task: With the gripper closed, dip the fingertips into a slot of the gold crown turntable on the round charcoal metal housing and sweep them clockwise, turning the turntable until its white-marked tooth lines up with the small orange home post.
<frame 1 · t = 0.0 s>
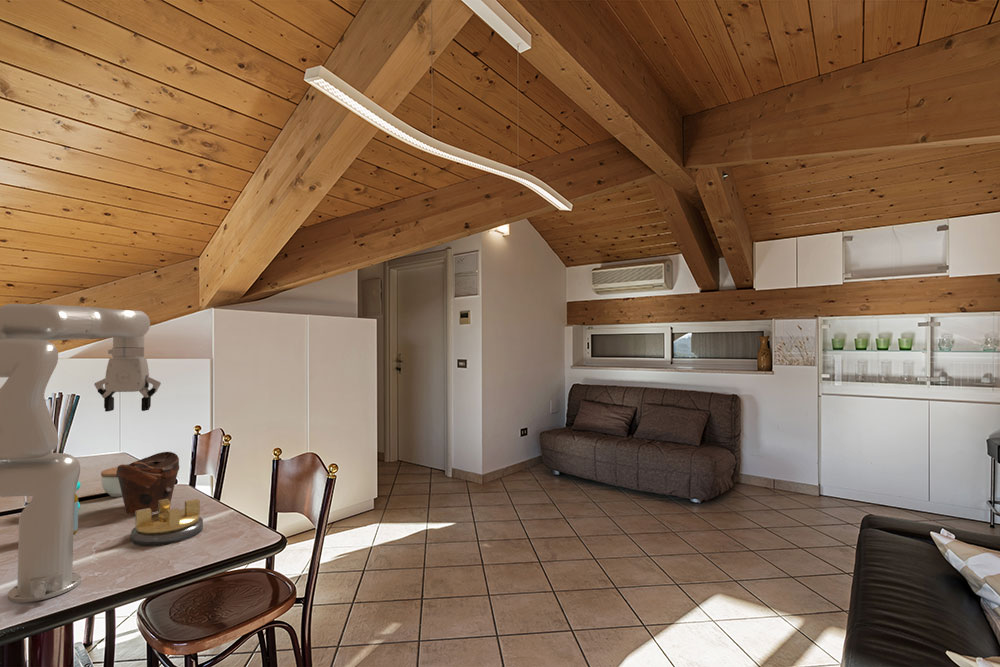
hand: (127, 410, 149), 37 cm above the table, tool pointing down, fingers open, 9 cm apart
housing: (168, 533, 150), on the table
gold crown turntable: (168, 514, 150), point 6 cm above the table, hinge at 0.0°
donuts: (60, 513, 168), on the table
lidded bowl: (121, 494, 189), on the table
case: (147, 508, 173), on the table
bottle: (62, 536, 148), on the table
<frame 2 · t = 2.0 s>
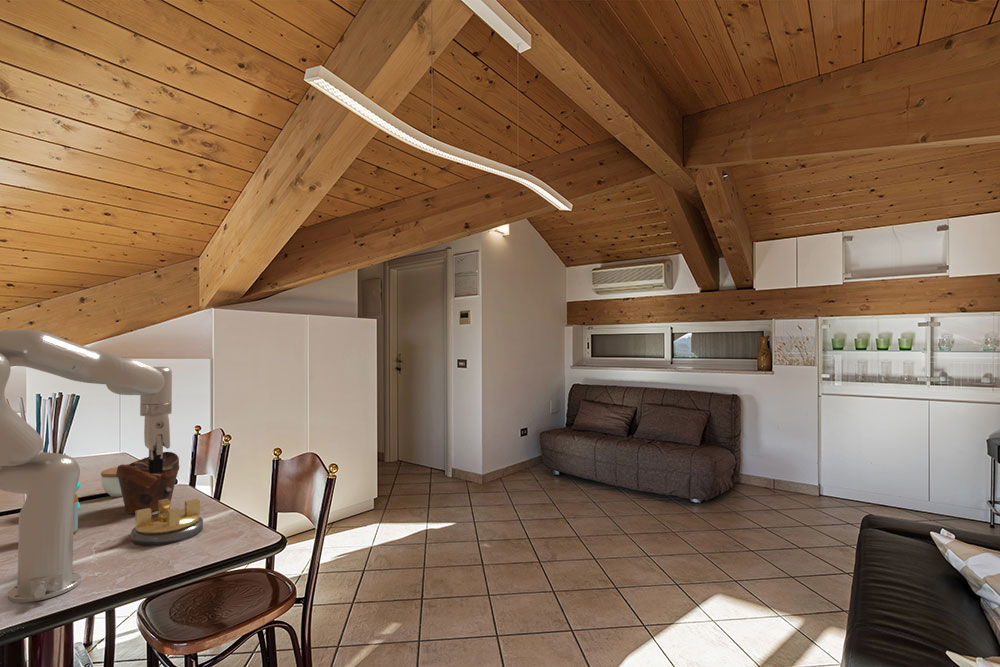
hand: (155, 472, 144), 20 cm above the table, tool pointing down, fingers closed
nothing on the table moved.
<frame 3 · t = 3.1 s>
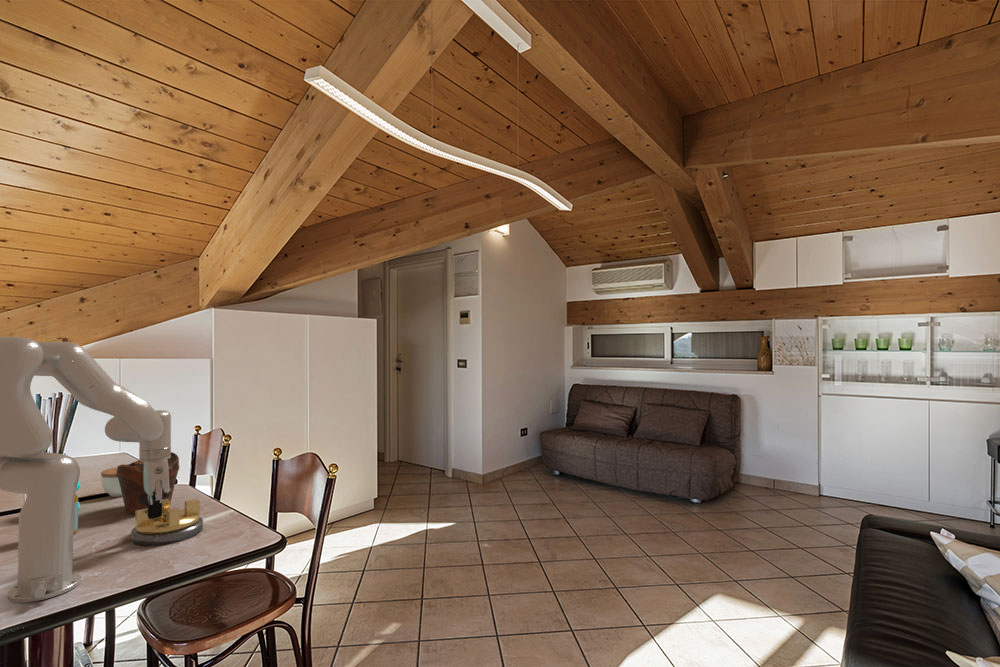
hand: (154, 516, 144), 7 cm above the table, tool pointing down, fingers closed
nothing on the table moved.
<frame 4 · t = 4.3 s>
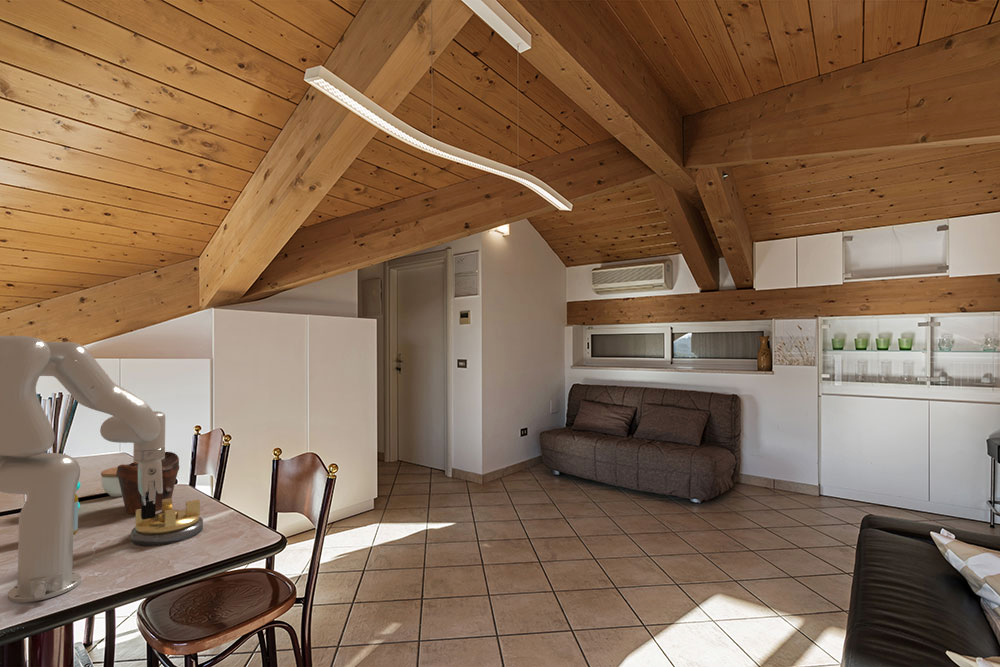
hand: (148, 517, 145), 7 cm above the table, tool pointing down, fingers closed
gold crown turntable: (168, 514, 150), point 6 cm above the table, hinge at 7.2°, touching gripper
everything else where it was.
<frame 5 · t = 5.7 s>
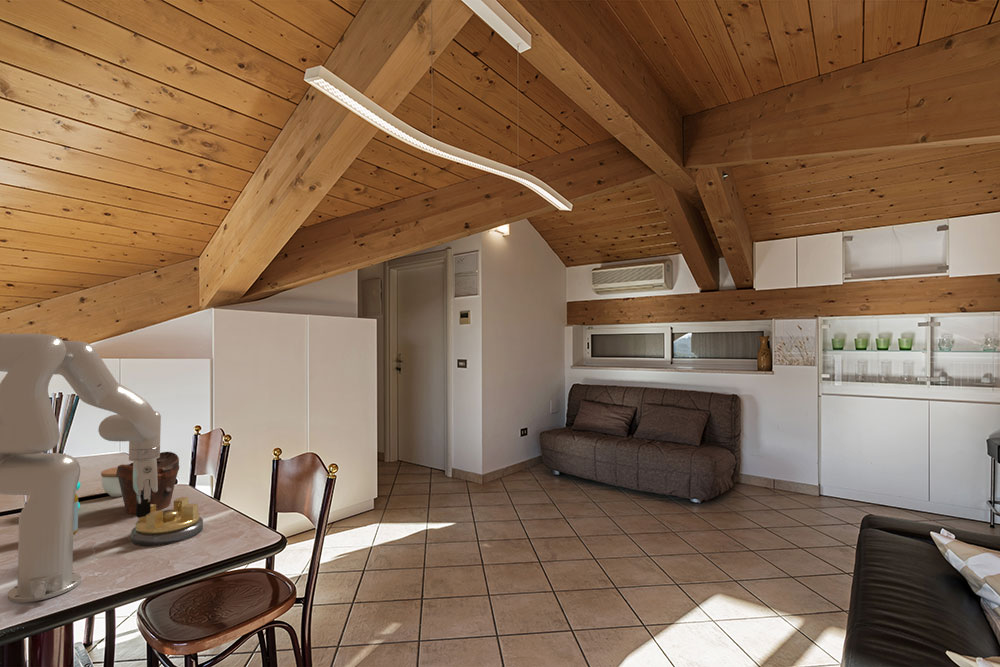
hand: (143, 515, 147), 7 cm above the table, tool pointing down, fingers closed
gold crown turntable: (168, 514, 150), point 6 cm above the table, hinge at 43.0°, touching gripper
everything else where it was.
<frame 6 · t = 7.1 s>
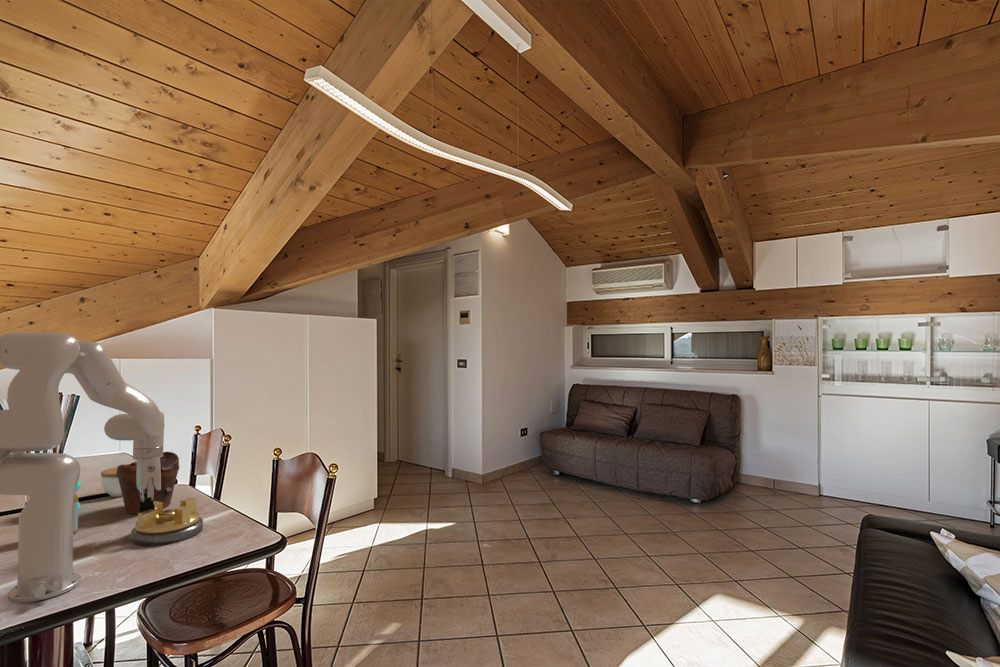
hand: (146, 514, 149), 6 cm above the table, tool pointing down, fingers closed
gold crown turntable: (168, 514, 150), point 6 cm above the table, hinge at 67.2°, touching gripper
everything else where it was.
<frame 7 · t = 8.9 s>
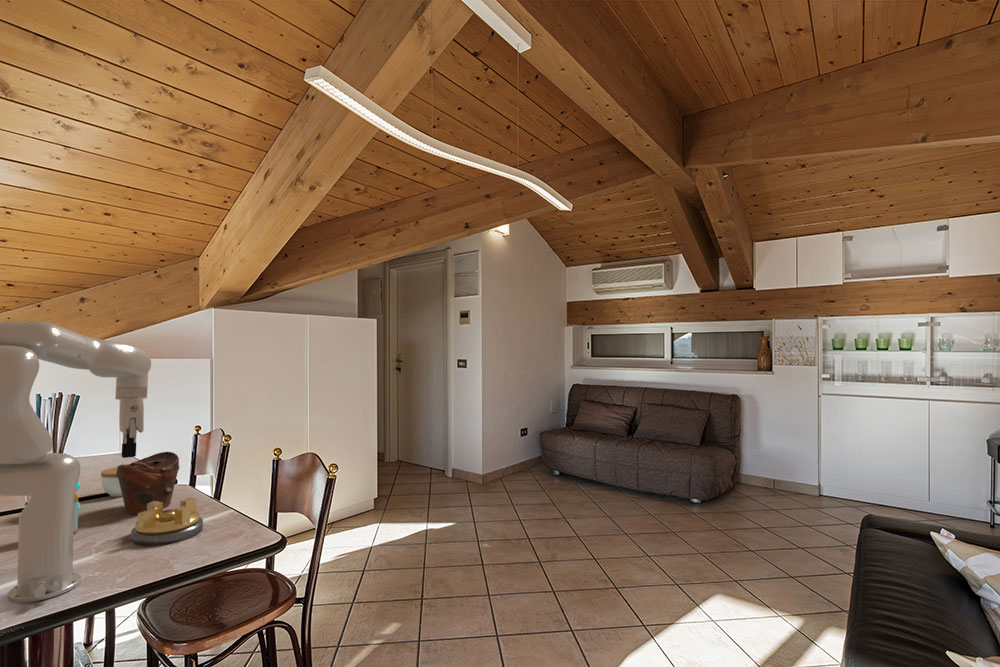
hand: (128, 456, 145), 24 cm above the table, tool pointing down, fingers closed
gold crown turntable: (168, 514, 150), point 6 cm above the table, hinge at 67.3°
everything else where it was.
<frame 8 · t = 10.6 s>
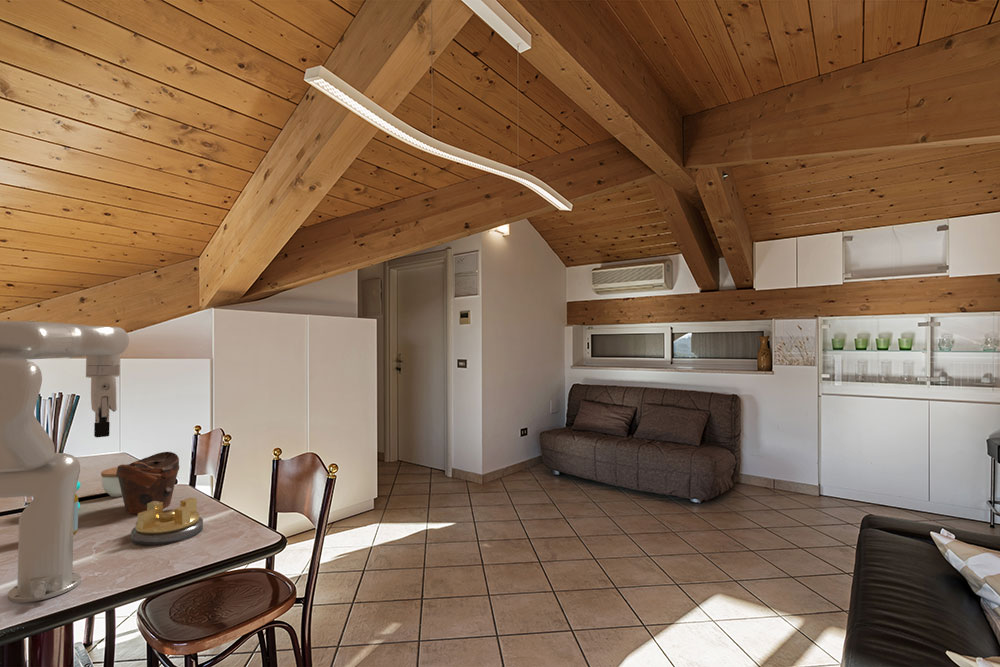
hand: (101, 436, 141), 31 cm above the table, tool pointing down, fingers closed
nothing on the table moved.
at the end: gold crown turntable at +67° (first picture: +0°) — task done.
